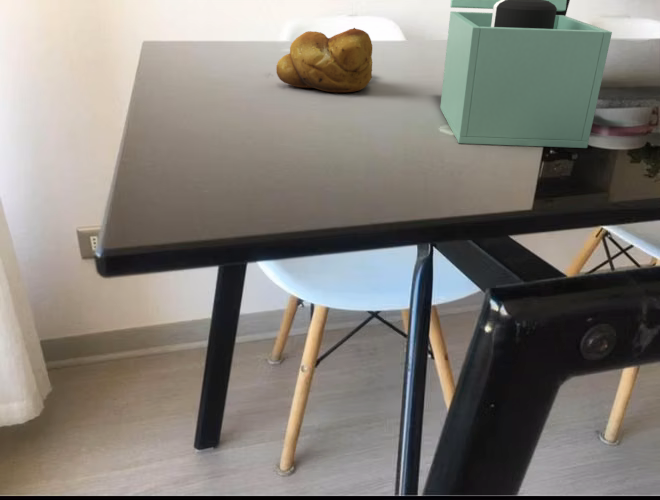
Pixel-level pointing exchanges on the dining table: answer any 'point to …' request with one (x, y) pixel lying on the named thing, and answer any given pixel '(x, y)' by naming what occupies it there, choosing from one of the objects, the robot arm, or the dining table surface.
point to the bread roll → (328, 61)
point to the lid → (489, 0)
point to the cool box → (522, 81)
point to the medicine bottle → (524, 14)
